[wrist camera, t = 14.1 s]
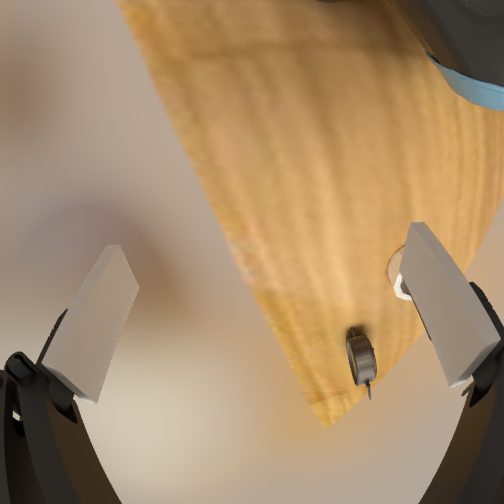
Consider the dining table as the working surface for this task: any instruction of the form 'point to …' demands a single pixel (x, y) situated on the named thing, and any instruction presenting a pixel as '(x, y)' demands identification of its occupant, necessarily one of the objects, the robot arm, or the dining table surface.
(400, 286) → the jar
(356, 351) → the alarm clock
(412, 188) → the dining table surface
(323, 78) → the dining table surface
